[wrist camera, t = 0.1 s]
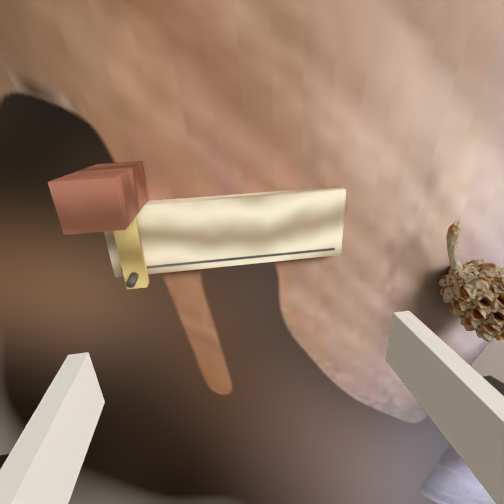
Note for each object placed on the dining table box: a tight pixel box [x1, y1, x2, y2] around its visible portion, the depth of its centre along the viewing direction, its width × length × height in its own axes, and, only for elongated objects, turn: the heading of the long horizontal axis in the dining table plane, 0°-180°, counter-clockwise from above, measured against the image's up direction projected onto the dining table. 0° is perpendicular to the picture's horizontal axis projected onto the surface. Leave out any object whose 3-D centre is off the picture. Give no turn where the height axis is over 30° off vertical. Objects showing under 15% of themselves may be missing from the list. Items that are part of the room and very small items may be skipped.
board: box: [104, 187, 346, 278], centre depth 39 cm, size 9×30×2 cm, turn 93°
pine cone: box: [439, 221, 504, 342], centre depth 43 cm, size 22×10×10 cm, turn 41°
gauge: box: [48, 162, 149, 289], centre depth 32 cm, size 14×5×12 cm, turn 3°
